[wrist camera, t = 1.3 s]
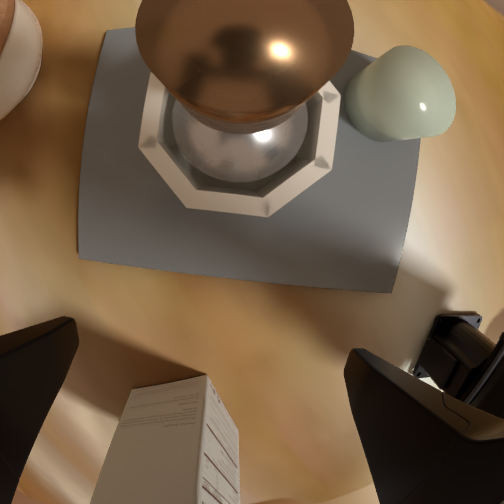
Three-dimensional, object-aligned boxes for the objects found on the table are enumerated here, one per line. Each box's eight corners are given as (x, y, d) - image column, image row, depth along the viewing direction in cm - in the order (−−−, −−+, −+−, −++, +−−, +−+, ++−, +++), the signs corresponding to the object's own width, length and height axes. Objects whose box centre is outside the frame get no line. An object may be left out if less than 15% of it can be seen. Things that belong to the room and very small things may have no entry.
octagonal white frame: (319, 59, 15) (345, 27, 10) (300, 210, 18) (323, 225, 13) (184, 42, 14) (167, 4, 10) (160, 193, 17) (132, 203, 12)
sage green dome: (411, 84, 16) (455, 67, 11) (407, 150, 17) (453, 148, 12) (346, 61, 15) (379, 32, 10) (339, 131, 16) (375, 120, 12)
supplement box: (168, 439, 23) (148, 549, 11) (130, 386, 21) (82, 509, 9) (240, 429, 23) (245, 551, 11) (210, 371, 21) (196, 520, 9)
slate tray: (418, 78, 16) (423, 76, 15) (387, 290, 20) (391, 293, 19) (110, 33, 14) (107, 30, 14) (82, 256, 18) (78, 258, 18)
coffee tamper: (311, 70, 11) (412, -45, 3) (296, 190, 13) (409, 232, 4) (185, 55, 11) (120, -80, 2) (167, 175, 12) (36, 190, 4)
